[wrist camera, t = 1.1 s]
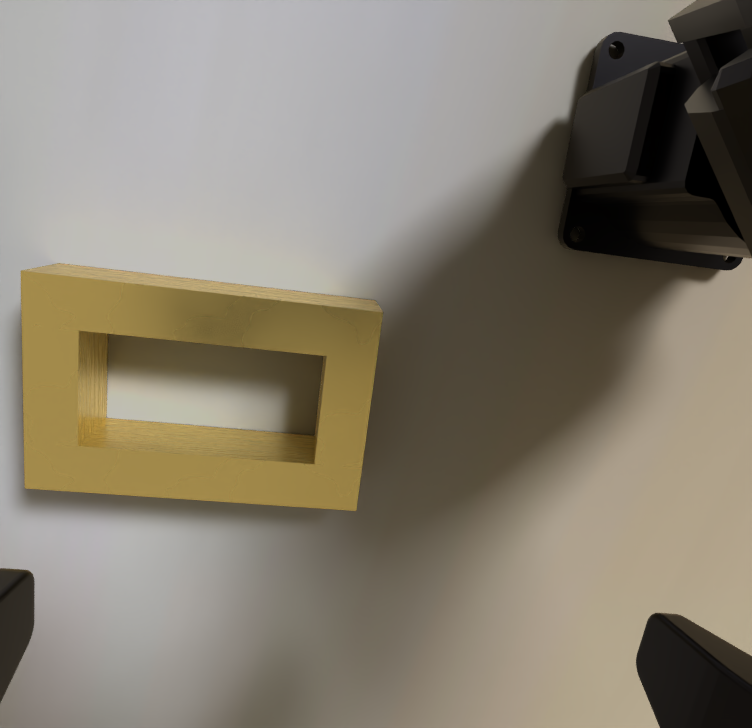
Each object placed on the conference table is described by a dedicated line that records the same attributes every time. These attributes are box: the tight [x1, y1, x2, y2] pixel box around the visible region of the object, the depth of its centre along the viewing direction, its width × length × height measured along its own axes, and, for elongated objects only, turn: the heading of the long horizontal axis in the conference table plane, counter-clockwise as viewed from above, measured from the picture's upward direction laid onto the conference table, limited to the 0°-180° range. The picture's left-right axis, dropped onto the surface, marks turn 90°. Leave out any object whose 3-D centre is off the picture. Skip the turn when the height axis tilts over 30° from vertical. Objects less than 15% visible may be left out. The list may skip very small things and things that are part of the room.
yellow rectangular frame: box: [21, 263, 383, 511], centre depth 18 cm, size 10×6×2 cm, turn 82°
